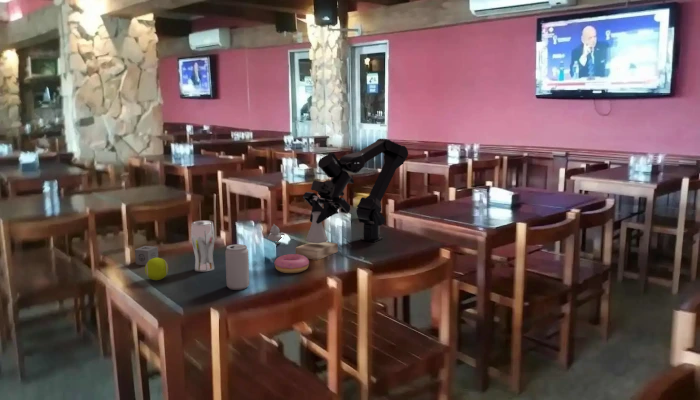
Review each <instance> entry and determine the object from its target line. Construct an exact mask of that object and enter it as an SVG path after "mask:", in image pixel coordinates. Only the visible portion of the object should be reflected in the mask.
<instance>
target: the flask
mask: <svg viewBox="0 0 700 400" xmlns="http://www.w3.org/2000/svg"><path fill="white" fill-rule="evenodd" d="M311 212H312V211H311ZM320 213H321V212H312V214H313V220H312V222H311V224H310V228H309V231H308V233H307V236H306V238H305V242H308V243H323V242H328V241H329V239H328V237H327V236H328V235H327V234H326V231H325V228H324V226H323V221H322V222H321V223H319V224H317V223H316V221H317V219H318V217H319V215H320Z"/></svg>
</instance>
